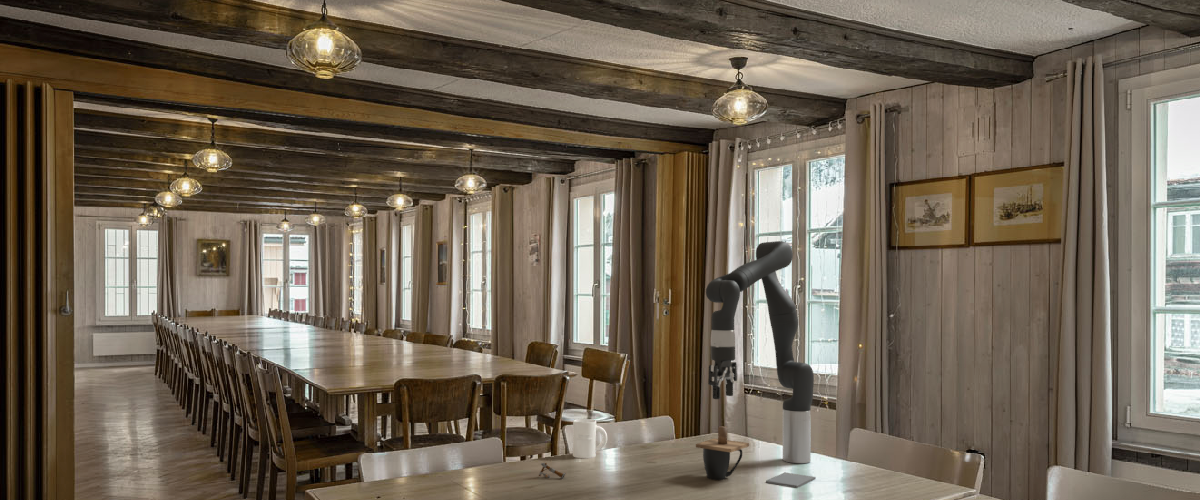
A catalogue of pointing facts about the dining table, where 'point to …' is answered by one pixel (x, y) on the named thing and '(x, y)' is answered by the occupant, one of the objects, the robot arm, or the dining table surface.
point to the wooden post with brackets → (544, 465)
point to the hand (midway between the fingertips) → (722, 397)
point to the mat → (790, 479)
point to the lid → (722, 442)
